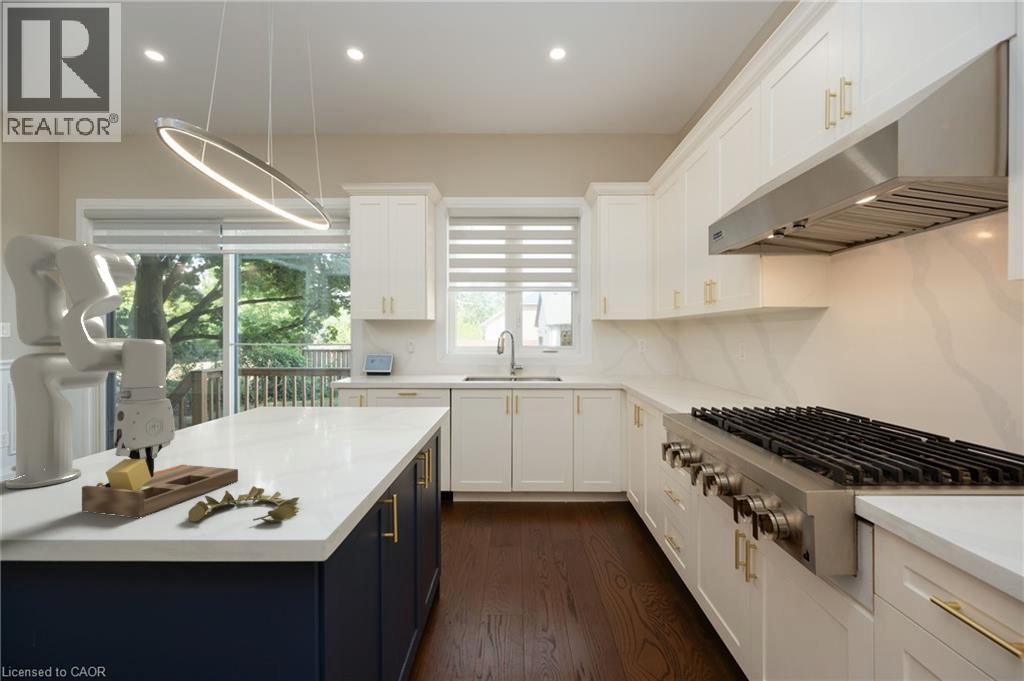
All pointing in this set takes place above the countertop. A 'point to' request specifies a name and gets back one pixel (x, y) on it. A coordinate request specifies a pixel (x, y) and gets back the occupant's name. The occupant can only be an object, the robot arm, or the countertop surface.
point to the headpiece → (281, 513)
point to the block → (129, 474)
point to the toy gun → (154, 474)
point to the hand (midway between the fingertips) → (144, 477)
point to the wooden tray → (157, 491)
